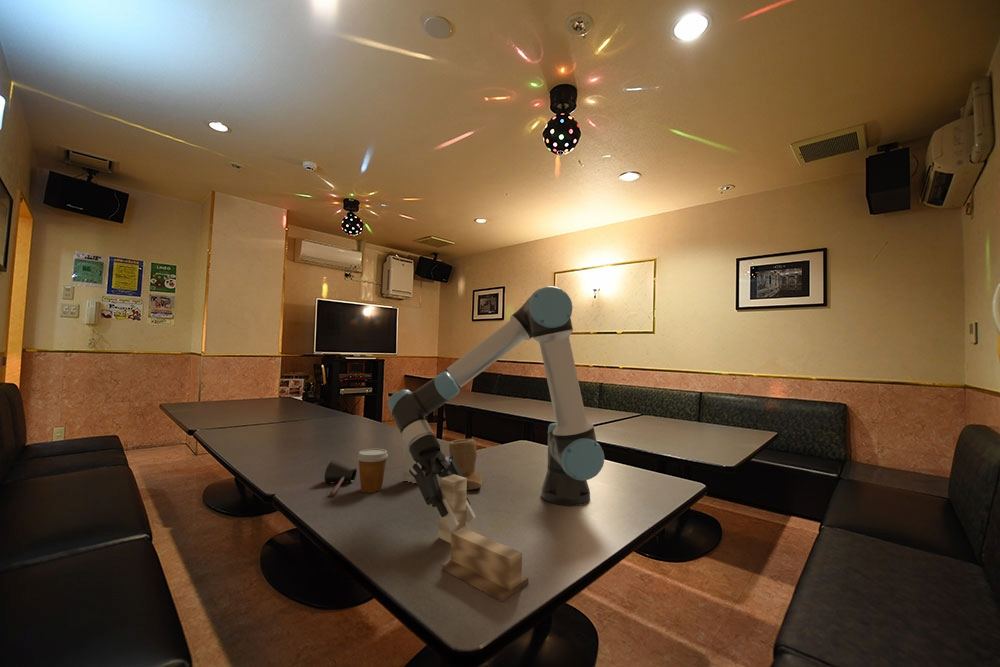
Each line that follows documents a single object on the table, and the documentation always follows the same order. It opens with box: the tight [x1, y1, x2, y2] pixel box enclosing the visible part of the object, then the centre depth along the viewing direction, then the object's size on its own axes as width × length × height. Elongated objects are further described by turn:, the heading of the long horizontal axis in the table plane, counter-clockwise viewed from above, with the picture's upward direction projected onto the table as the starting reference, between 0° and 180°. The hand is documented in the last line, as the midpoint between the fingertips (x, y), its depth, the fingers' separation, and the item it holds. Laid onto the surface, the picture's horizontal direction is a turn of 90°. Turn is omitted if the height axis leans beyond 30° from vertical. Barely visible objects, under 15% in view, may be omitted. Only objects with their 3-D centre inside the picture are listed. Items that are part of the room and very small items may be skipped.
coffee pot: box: [323, 459, 358, 498], centre depth 129 cm, size 8×18×8 cm
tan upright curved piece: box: [448, 438, 483, 491], centre depth 136 cm, size 15×12×15 cm
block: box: [438, 474, 468, 544], centre depth 96 cm, size 4×4×14 cm
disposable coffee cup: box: [356, 448, 389, 493], centre depth 128 cm, size 10×10×12 cm
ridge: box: [441, 528, 529, 602], centre depth 80 cm, size 16×8×6 cm, turn 50°
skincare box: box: [402, 438, 425, 484], centre depth 138 cm, size 8×6×15 cm
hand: (463, 523), depth 94 cm, fingers open, 5 cm apart
